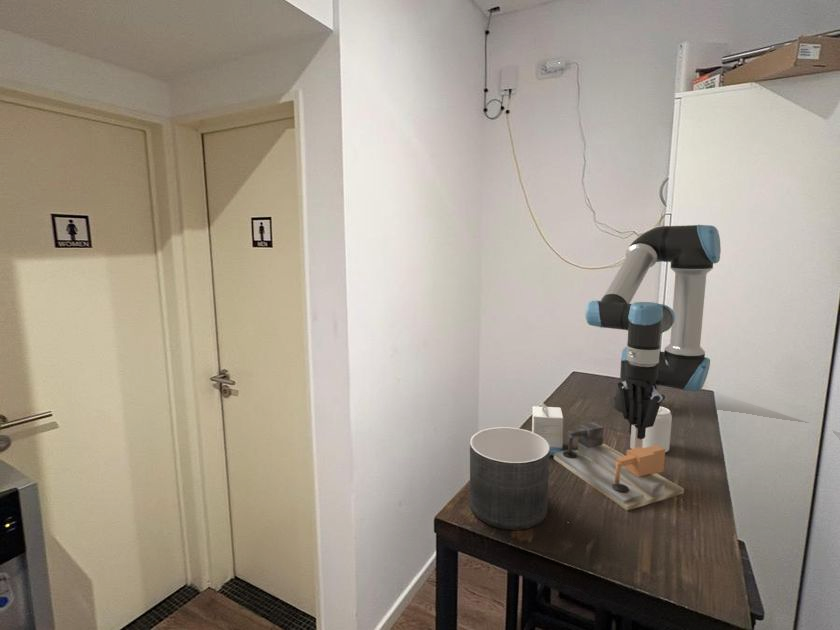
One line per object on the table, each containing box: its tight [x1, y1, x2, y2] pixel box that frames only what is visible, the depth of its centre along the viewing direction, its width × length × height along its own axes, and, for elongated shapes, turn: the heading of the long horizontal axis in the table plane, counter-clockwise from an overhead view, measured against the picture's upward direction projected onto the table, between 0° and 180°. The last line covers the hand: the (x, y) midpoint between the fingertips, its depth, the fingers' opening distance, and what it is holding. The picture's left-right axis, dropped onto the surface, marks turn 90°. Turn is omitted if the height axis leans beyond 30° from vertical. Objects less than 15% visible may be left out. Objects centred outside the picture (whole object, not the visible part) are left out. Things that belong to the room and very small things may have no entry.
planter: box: [469, 426, 551, 531], centre depth 102 cm, size 18×18×16 cm
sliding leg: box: [615, 445, 666, 484], centre depth 109 cm, size 14×4×7 cm, turn 111°
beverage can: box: [642, 405, 673, 453], centre depth 129 cm, size 8×8×12 cm
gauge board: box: [553, 421, 685, 512], centre depth 115 cm, size 18×26×9 cm
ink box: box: [531, 401, 564, 457], centre depth 130 cm, size 9×8×13 cm
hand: (636, 447), depth 118 cm, fingers closed
